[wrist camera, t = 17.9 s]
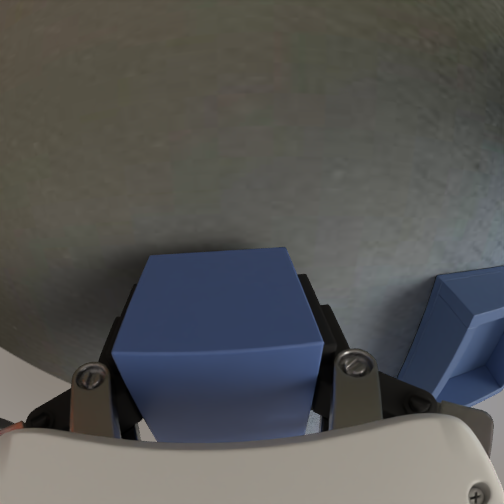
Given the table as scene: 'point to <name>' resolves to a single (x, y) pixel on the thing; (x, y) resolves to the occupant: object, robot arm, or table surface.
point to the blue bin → (460, 339)
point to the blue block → (220, 347)
